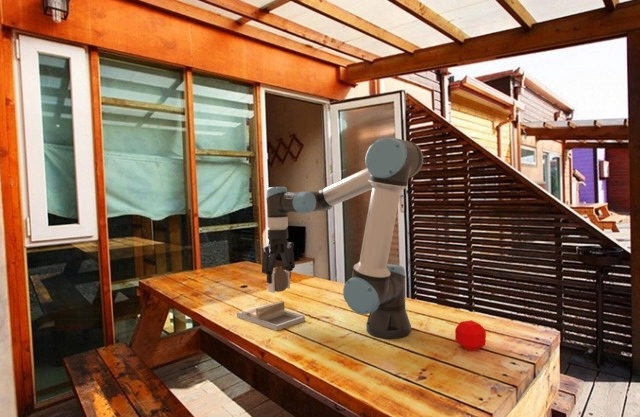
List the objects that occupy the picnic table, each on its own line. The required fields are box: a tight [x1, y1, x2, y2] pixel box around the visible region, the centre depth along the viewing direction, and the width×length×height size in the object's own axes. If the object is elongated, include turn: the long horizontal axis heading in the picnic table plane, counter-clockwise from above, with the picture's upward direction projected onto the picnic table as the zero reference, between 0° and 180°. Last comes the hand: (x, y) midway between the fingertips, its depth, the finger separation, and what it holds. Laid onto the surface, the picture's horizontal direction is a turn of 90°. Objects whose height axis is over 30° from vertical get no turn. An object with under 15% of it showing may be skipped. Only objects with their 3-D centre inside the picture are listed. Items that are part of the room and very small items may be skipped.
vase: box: [272, 266, 288, 292], centre depth 147 cm, size 7×7×9 cm
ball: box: [454, 320, 487, 351], centre depth 120 cm, size 8×8×8 cm
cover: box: [241, 300, 286, 319], centre depth 155 cm, size 11×13×4 cm
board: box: [236, 310, 306, 332], centre depth 152 cm, size 24×14×2 cm, turn 46°
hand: (279, 289), depth 147 cm, fingers closed on vase, 7 cm apart
